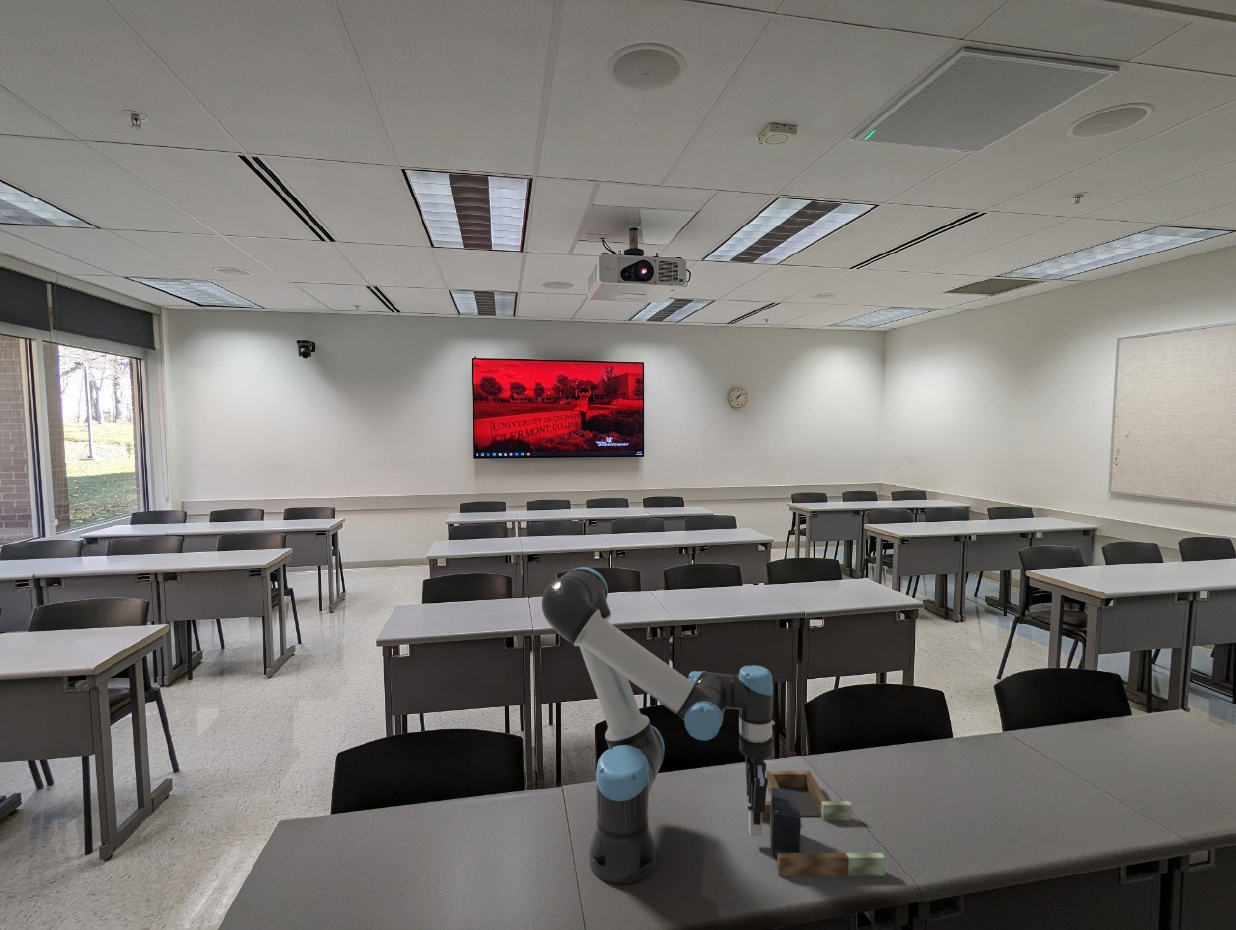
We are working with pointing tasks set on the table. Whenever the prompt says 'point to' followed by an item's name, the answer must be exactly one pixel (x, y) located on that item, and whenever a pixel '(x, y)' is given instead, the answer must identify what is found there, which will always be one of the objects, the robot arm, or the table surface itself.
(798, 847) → the small box
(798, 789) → the mat
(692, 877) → the table surface
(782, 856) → the wooden frame pieces
